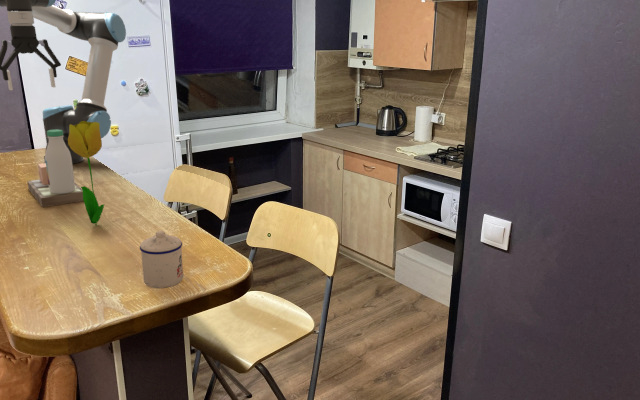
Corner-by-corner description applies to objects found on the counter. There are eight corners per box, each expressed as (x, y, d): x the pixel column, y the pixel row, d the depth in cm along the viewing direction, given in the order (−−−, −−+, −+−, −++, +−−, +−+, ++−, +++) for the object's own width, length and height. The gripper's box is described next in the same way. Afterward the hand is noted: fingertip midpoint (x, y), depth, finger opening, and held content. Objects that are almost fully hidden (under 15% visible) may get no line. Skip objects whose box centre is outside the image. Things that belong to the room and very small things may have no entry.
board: (28, 189, 187) (27, 180, 186) (68, 183, 194) (67, 175, 193) (42, 207, 168) (41, 197, 167) (85, 200, 176) (84, 191, 175)
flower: (117, 222, 156) (107, 120, 147) (99, 231, 149) (87, 124, 140) (92, 219, 159) (80, 118, 150) (73, 228, 151) (59, 122, 142)
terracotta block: (40, 180, 185) (37, 164, 184) (58, 178, 189) (56, 162, 187) (43, 184, 181) (41, 167, 179) (62, 182, 184) (60, 165, 182)
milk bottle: (80, 189, 177) (73, 129, 171) (63, 195, 170) (55, 133, 164) (62, 186, 179) (54, 127, 173) (44, 193, 172) (35, 131, 166)
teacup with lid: (187, 285, 119) (185, 236, 115) (145, 292, 115) (140, 241, 112) (178, 264, 129) (175, 218, 126) (139, 270, 126) (134, 223, 122)
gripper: (-19, 25, 170) (-6, 92, 178) (64, 25, 185) (73, 86, 193) (-23, 24, 176) (-10, 89, 183) (58, 24, 191) (67, 84, 198)
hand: (32, 88), depth 188 cm, fingers open, 13 cm apart
